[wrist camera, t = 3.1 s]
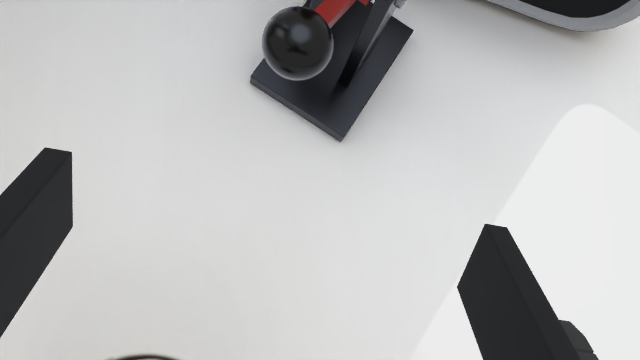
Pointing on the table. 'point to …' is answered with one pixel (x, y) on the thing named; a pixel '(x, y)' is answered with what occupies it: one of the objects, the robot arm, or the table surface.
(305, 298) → the table surface
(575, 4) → the alarm clock
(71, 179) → the robot arm
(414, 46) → the table surface
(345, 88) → the toggle clamp
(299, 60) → the clamp lever
